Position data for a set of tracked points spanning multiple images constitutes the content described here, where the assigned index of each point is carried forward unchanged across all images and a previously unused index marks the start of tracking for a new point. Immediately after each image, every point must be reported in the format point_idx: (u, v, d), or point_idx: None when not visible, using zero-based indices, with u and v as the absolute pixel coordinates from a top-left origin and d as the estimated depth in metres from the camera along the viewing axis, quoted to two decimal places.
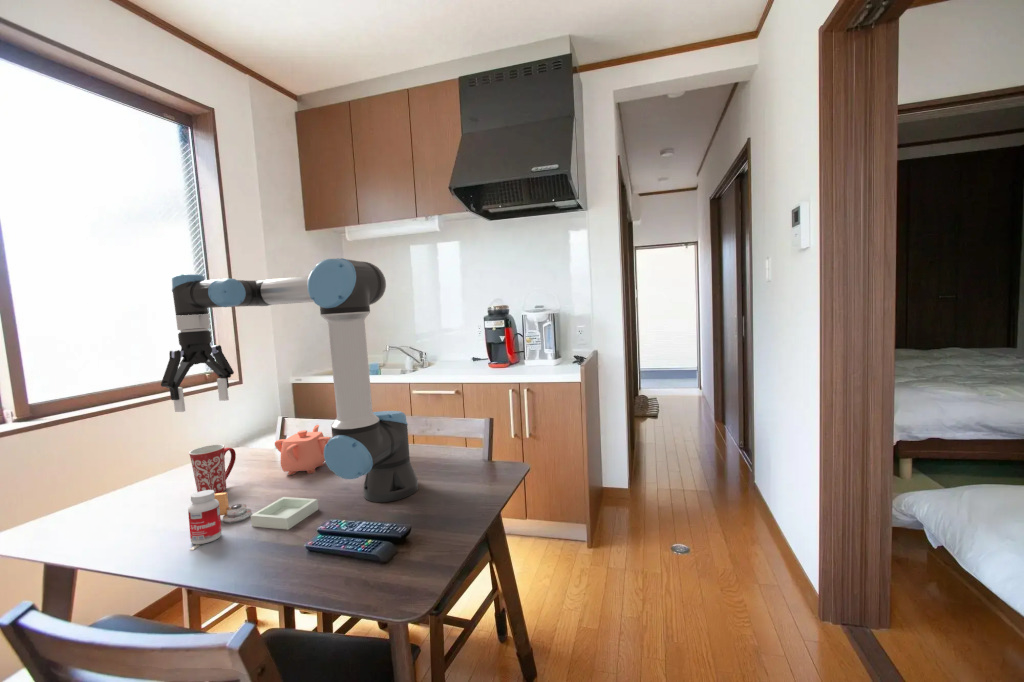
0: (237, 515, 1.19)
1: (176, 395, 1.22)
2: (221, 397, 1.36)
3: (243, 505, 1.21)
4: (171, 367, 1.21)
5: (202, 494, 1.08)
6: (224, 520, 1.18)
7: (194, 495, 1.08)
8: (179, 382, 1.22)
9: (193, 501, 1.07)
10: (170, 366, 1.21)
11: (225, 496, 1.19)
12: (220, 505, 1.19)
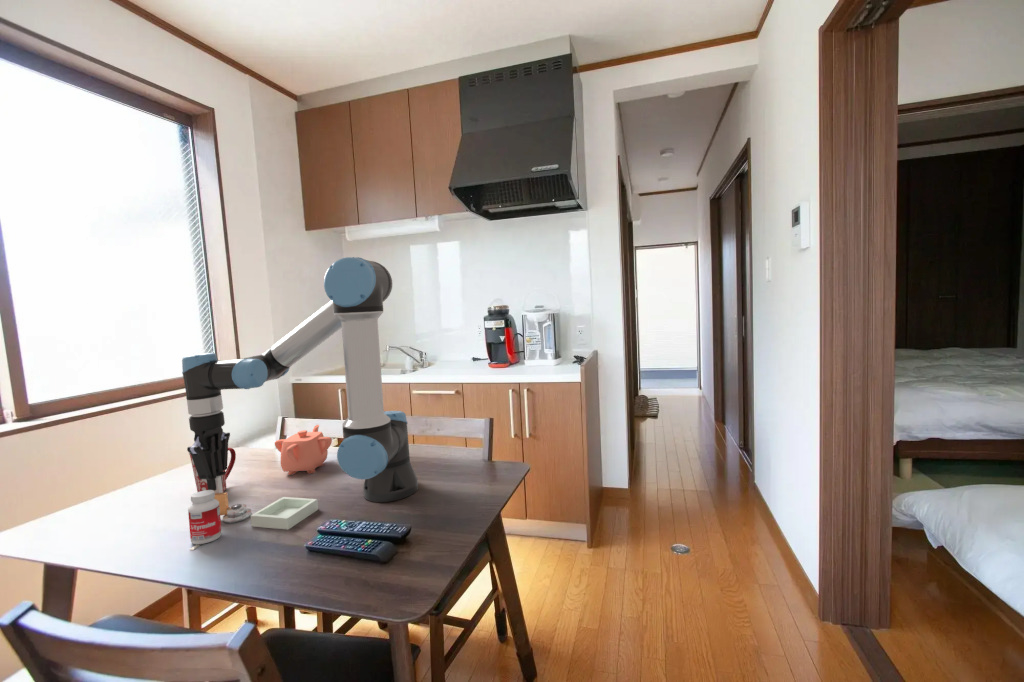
0: (237, 515, 1.19)
1: (214, 486, 1.19)
2: None
3: (243, 505, 1.21)
4: (200, 463, 1.15)
5: (202, 494, 1.08)
6: (224, 520, 1.18)
7: (194, 495, 1.08)
8: (214, 472, 1.19)
9: (193, 501, 1.07)
10: (198, 462, 1.15)
11: (225, 496, 1.19)
12: (220, 505, 1.19)
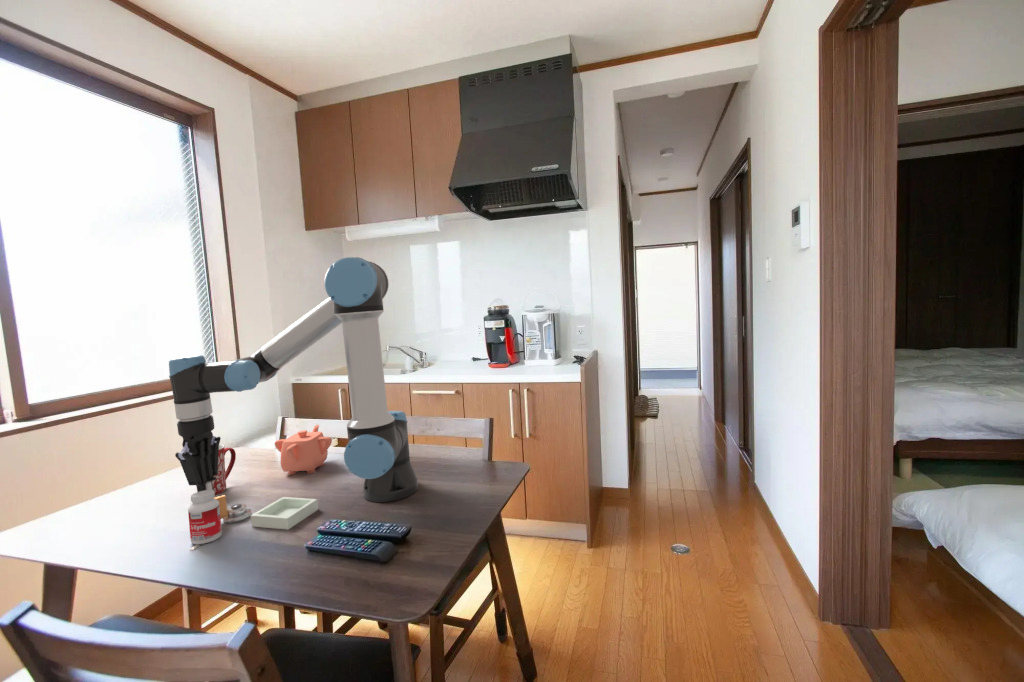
0: (243, 513, 1.20)
1: None
2: None
3: None
4: (189, 469, 1.12)
5: (202, 494, 1.08)
6: (224, 520, 1.18)
7: (194, 495, 1.08)
8: (205, 477, 1.16)
9: (193, 501, 1.07)
10: (187, 468, 1.12)
11: None
12: (220, 508, 1.17)
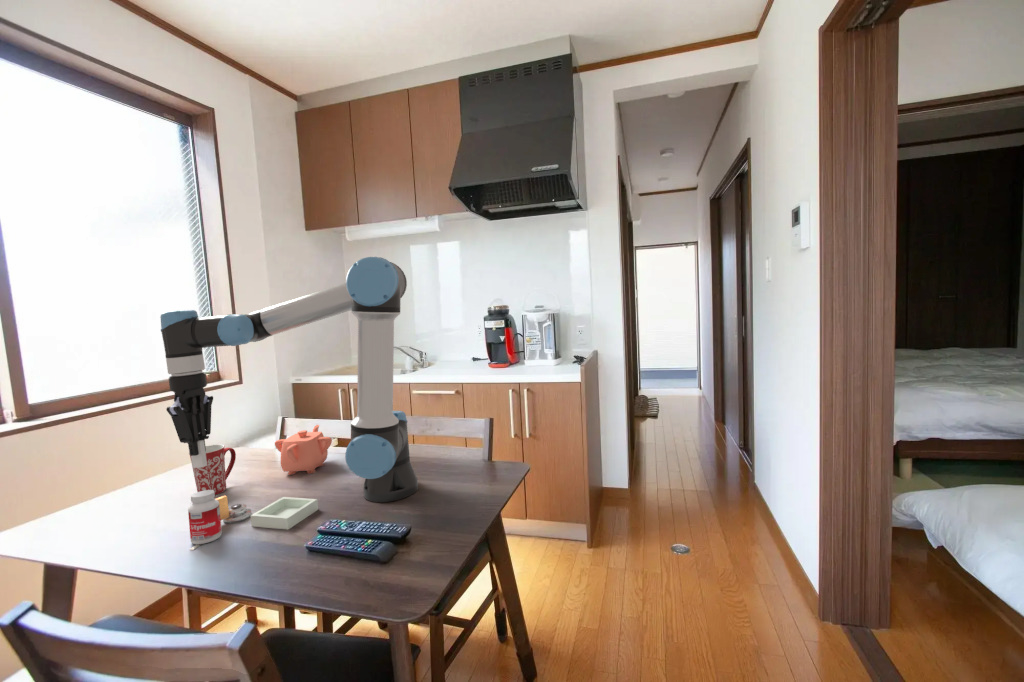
0: (245, 512, 1.20)
1: (196, 450, 1.13)
2: None
3: None
4: (181, 424, 1.09)
5: (202, 494, 1.08)
6: (224, 520, 1.18)
7: (194, 495, 1.08)
8: (196, 435, 1.13)
9: (193, 501, 1.07)
10: (179, 424, 1.09)
11: None
12: (222, 509, 1.17)
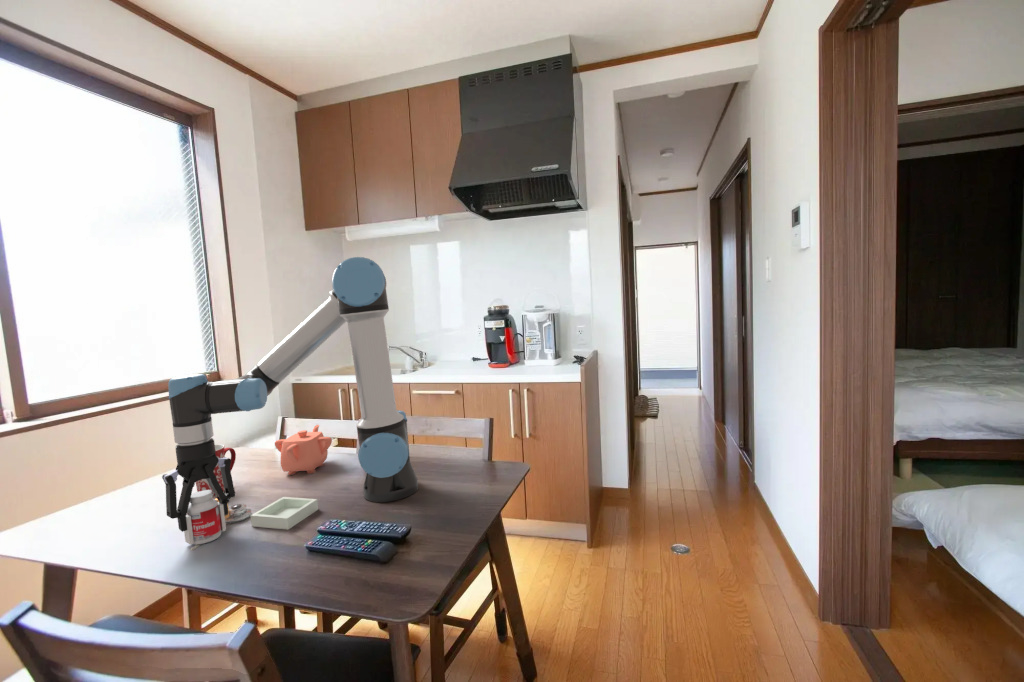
0: (245, 512, 1.20)
1: (183, 526, 1.05)
2: None
3: None
4: (168, 496, 1.03)
5: (200, 494, 1.08)
6: None
7: (192, 495, 1.08)
8: (185, 510, 1.05)
9: (191, 501, 1.07)
10: (168, 495, 1.03)
11: None
12: None
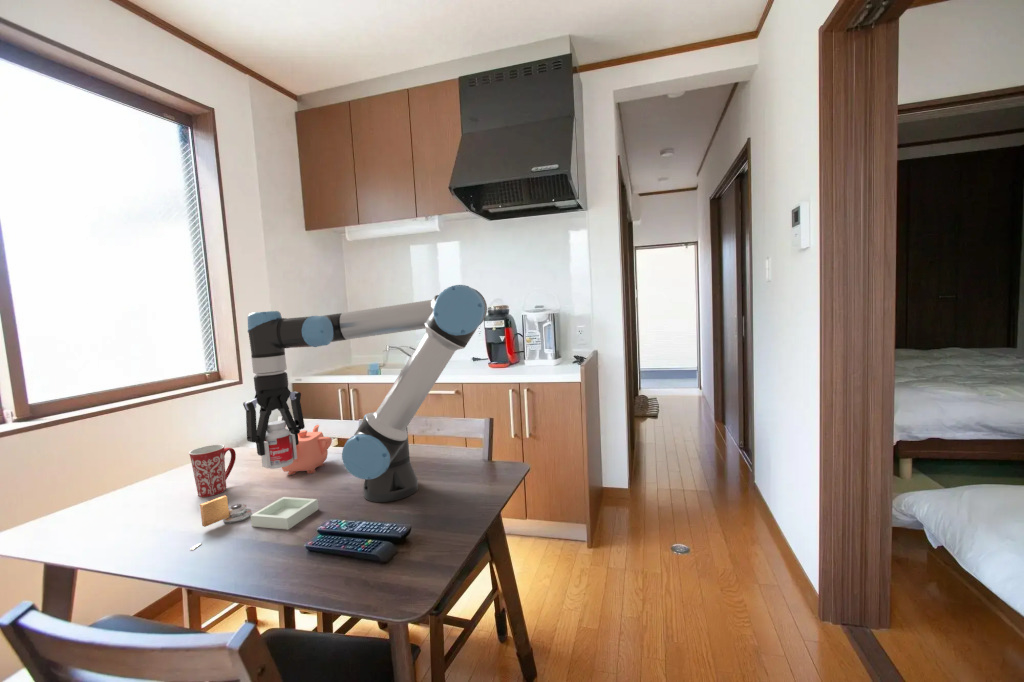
0: (245, 512, 1.20)
1: (262, 450, 1.13)
2: None
3: None
4: (249, 421, 1.11)
5: (275, 423, 1.16)
6: (224, 520, 1.18)
7: (268, 424, 1.16)
8: (263, 436, 1.13)
9: (268, 429, 1.15)
10: (248, 420, 1.11)
11: None
12: (222, 509, 1.17)
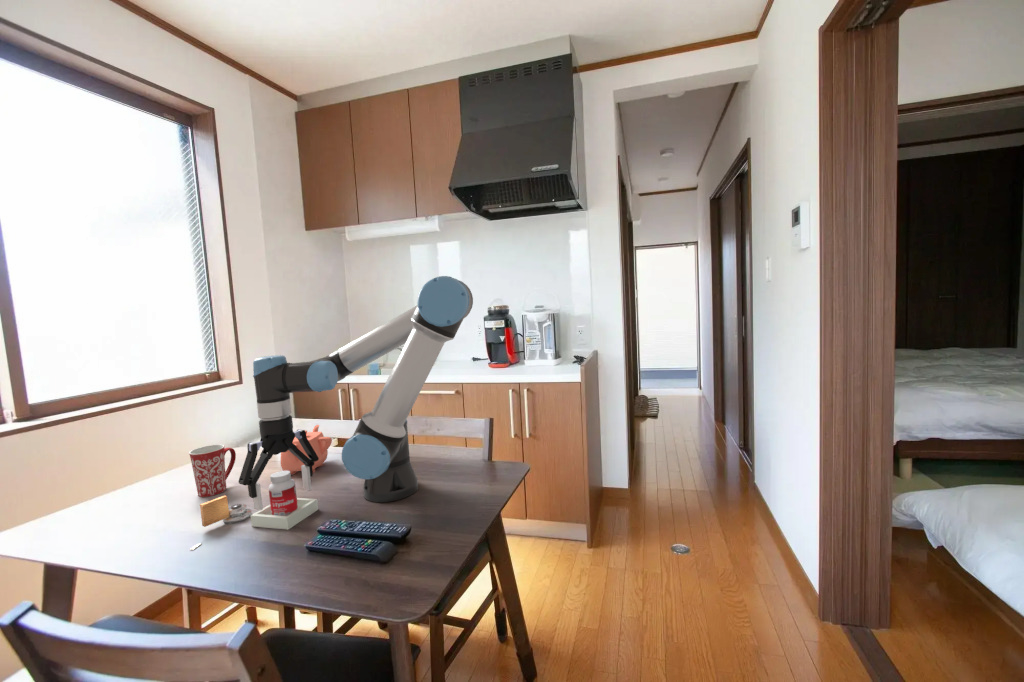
0: (245, 512, 1.20)
1: (253, 493, 1.11)
2: (305, 487, 1.23)
3: None
4: (247, 463, 1.11)
5: (280, 474, 1.17)
6: (224, 520, 1.18)
7: (273, 475, 1.17)
8: (256, 478, 1.12)
9: (273, 481, 1.16)
10: (247, 462, 1.11)
11: None
12: (222, 509, 1.17)
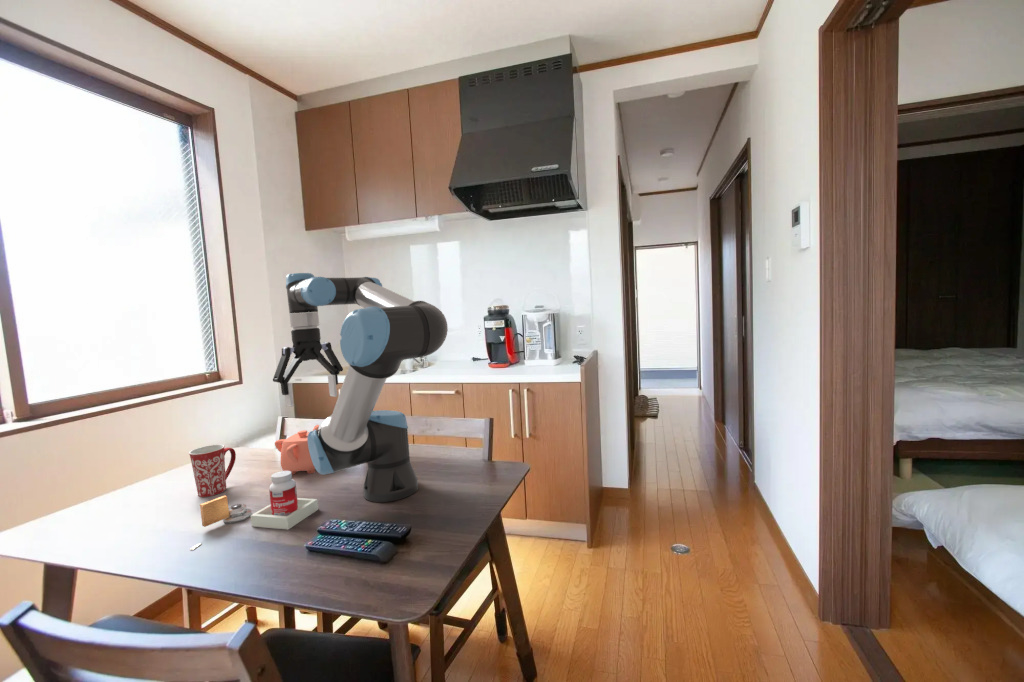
0: (245, 512, 1.20)
1: (285, 390, 1.26)
2: (331, 393, 1.39)
3: None
4: (281, 363, 1.26)
5: (281, 474, 1.17)
6: (224, 520, 1.18)
7: (274, 475, 1.16)
8: (288, 378, 1.26)
9: (274, 481, 1.16)
10: (281, 363, 1.26)
11: None
12: (222, 509, 1.17)
